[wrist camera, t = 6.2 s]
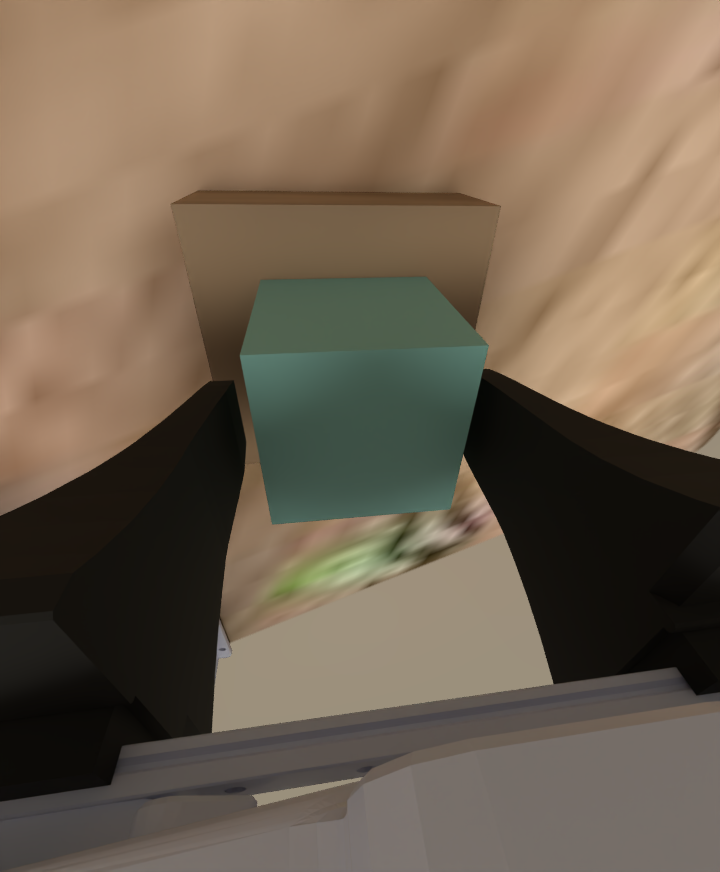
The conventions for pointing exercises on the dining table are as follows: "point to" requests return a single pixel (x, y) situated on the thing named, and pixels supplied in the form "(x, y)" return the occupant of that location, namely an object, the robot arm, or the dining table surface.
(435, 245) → the walnut block
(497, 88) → the dining table surface
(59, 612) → the robot arm
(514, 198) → the dining table surface
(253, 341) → the teal cube
